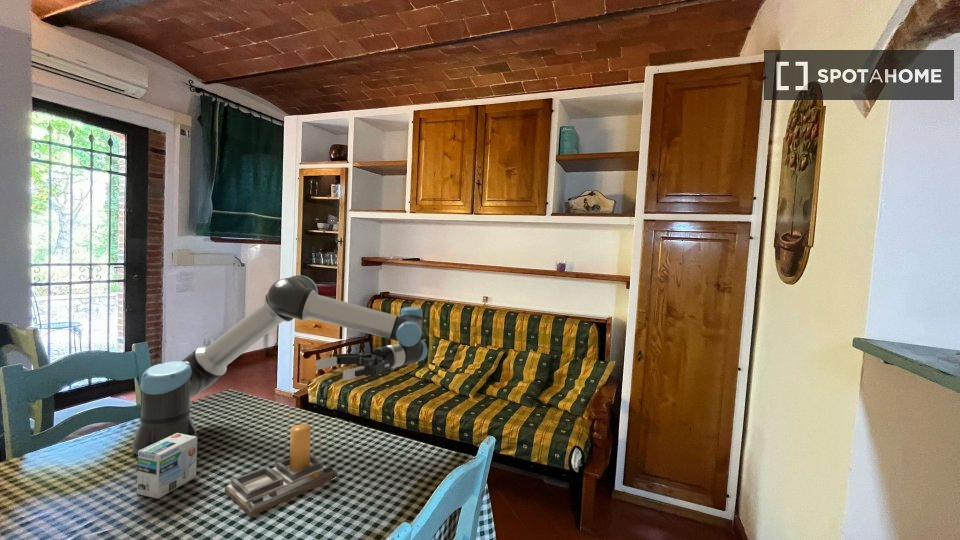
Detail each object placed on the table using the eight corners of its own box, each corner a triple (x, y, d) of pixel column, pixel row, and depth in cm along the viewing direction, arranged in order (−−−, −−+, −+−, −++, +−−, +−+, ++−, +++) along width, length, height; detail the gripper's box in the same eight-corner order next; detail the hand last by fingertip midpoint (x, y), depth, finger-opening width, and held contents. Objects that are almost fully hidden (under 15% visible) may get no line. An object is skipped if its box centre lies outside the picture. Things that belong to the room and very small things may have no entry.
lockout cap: (286, 468, 111) (286, 428, 111) (303, 461, 115) (304, 422, 115) (295, 474, 108) (296, 433, 108) (313, 467, 112) (314, 427, 111)
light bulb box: (158, 499, 97) (159, 455, 97) (135, 494, 99) (135, 450, 98) (197, 476, 108) (198, 435, 107) (176, 471, 109) (177, 431, 109)
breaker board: (224, 491, 102) (225, 479, 101) (308, 458, 119) (309, 448, 119) (250, 516, 93) (250, 503, 93) (336, 477, 111) (337, 465, 110)
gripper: (413, 377, 128) (355, 394, 112) (363, 360, 144) (306, 373, 127) (414, 353, 128) (356, 366, 111) (364, 339, 143) (307, 348, 126)
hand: (329, 370), depth 119 cm, fingers open, 13 cm apart
